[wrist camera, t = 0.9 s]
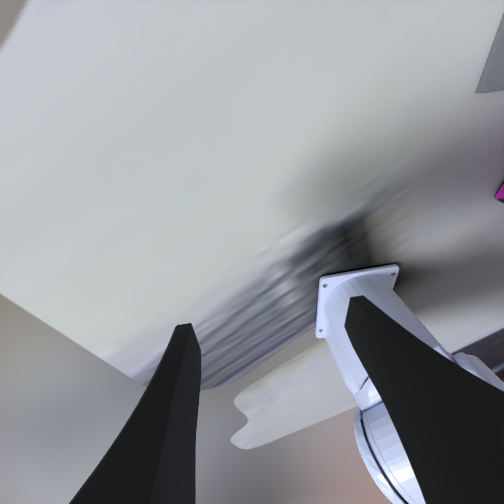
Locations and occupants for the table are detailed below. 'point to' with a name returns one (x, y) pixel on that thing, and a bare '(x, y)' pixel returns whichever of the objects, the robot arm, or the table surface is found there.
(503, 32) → the charcoal mat
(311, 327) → the table surface
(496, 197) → the candy bar box
